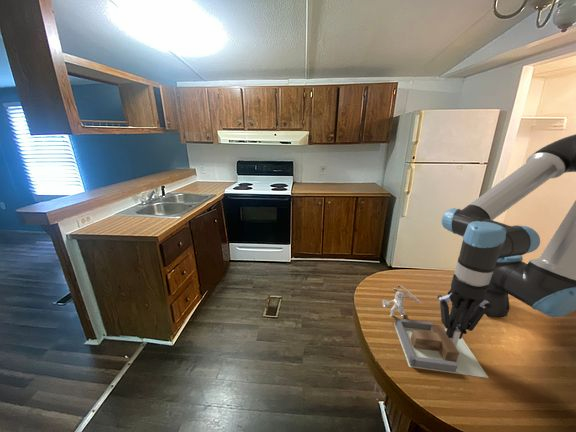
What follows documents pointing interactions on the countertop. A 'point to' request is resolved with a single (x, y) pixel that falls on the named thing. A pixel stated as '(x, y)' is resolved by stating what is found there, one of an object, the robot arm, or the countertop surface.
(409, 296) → the silver tweezers
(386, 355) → the countertop surface
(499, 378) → the countertop surface
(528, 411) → the countertop surface
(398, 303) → the figurine
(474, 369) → the board
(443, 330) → the t block
